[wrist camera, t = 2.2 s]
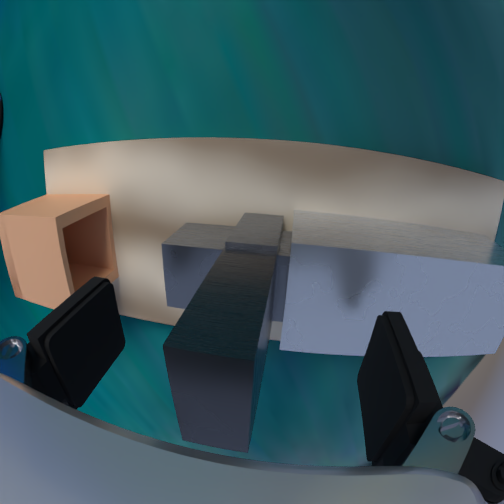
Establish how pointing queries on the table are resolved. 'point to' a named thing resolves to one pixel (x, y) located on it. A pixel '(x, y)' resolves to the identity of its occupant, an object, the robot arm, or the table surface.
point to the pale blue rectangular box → (391, 285)
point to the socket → (58, 245)
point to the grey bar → (223, 322)
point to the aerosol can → (1, 113)
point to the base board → (253, 195)
